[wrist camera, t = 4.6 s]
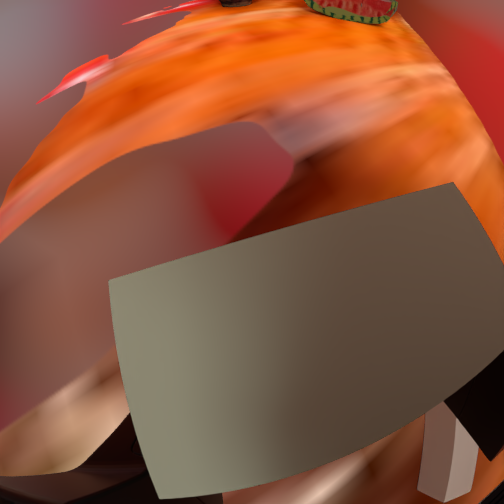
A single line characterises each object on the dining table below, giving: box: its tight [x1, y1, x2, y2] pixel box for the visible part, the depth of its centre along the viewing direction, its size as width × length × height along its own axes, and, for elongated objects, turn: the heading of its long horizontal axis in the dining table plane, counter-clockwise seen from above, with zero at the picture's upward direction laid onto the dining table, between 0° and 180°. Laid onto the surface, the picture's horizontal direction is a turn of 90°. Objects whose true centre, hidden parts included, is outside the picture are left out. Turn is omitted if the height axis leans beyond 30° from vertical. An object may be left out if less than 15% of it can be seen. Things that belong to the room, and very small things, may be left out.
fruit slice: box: [304, 0, 398, 24], centre depth 49 cm, size 26×6×10 cm, turn 76°
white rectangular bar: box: [417, 401, 479, 503], centre depth 14 cm, size 18×2×4 cm, turn 176°
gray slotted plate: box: [109, 182, 504, 499], centre depth 9 cm, size 6×3×13 cm, turn 107°
